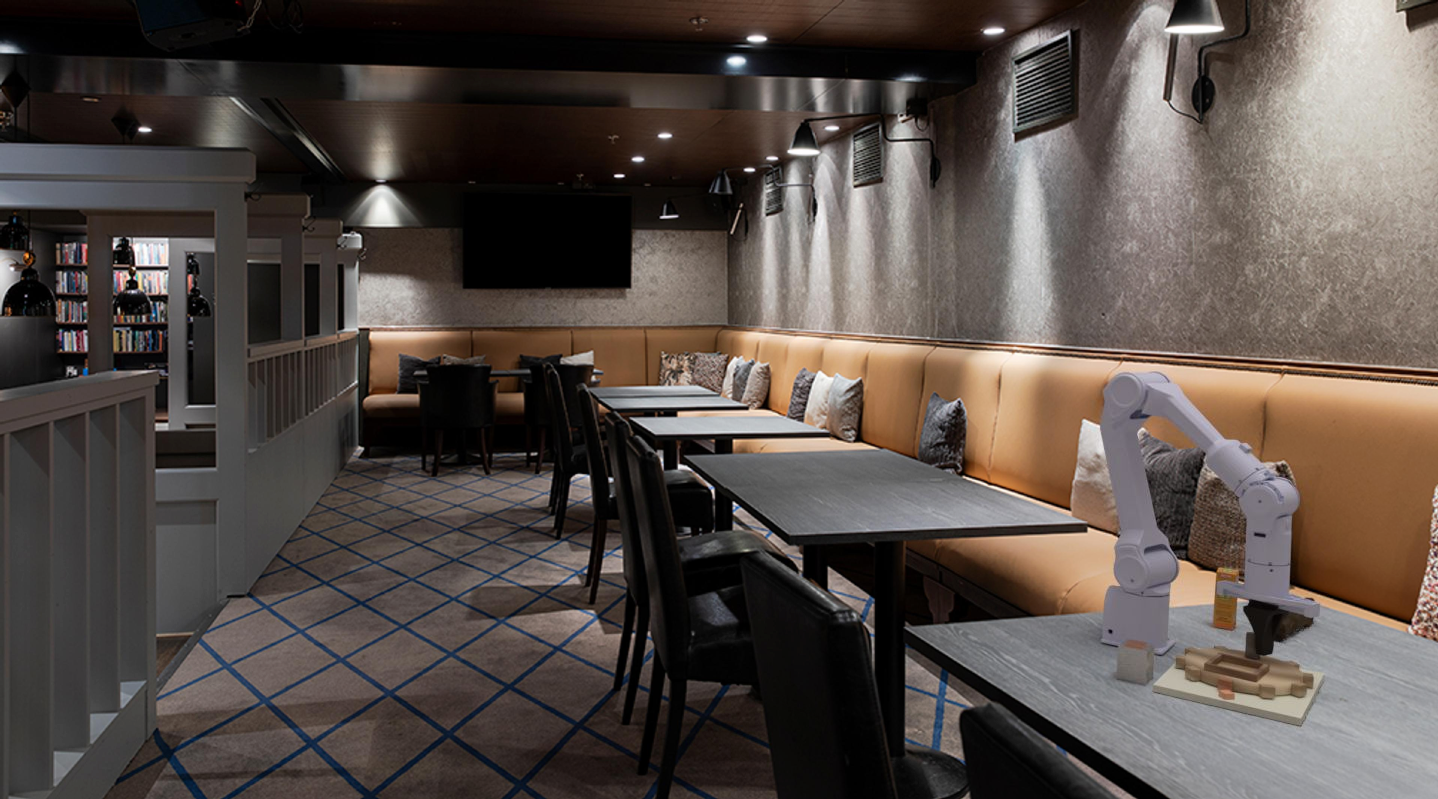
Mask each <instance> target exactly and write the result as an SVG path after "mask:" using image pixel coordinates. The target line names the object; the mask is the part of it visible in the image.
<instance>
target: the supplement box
mask: <svg viewBox="0 0 1438 799" xmlns="http://www.w3.org/2000/svg"><path fill="white" fill-rule="evenodd" d="M1239 577H1240V570H1239V569H1233V568H1226V567H1218V568H1217V570H1216V574H1215V586H1214V587H1215V588H1214V598H1213V599H1214V601H1213V602H1214V603H1213V614H1212V615H1213V616H1212V618H1213V619H1212V627H1213V628H1217V629H1223V630H1229V631H1233V630H1234V628H1235V627H1236V626H1237V611H1238V610H1237V608H1238V598H1236V597H1232V596H1228V595H1219V594H1217V582H1218V581H1225V580H1226V581H1231V582H1236V583H1239V581H1240V580H1239V579H1240V578H1239Z"/></svg>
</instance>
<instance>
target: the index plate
mask: <svg viewBox="0 0 1438 799" xmlns="http://www.w3.org/2000/svg"><path fill="white" fill-rule="evenodd" d="M1192 647H1193V648H1196V649H1202V648H1201V647H1200V648H1199V647H1197V646H1196V647H1194V646H1192ZM1182 655H1184V653H1183V654H1182ZM1299 670H1301V672H1302V673H1310V674H1313V676H1314V683H1313V688H1311V687H1307V695H1305V696H1302V697H1298V696H1295V695H1292V694H1287V695H1275V699H1274V698H1262V697H1261V696H1260V695H1259V694H1250V693H1244V692H1238V691H1232V692H1231V691H1229V690H1218V687H1217V686H1214V685H1211V684H1208V683H1205V682H1203V681H1201V680H1196V681H1192V680H1190V679H1188V678H1186V677H1185V669H1182V668H1176V661H1175V662H1174V664H1172V665H1171V666H1170V667H1169V668H1168V669H1167V670H1166V671H1165V672H1164V673H1163V674H1162V675H1161V676H1160V677H1159V678H1157V680H1156V681H1155V682H1154V683H1153V684H1152V693H1158V694H1161V695H1166V696H1170V697H1175V698H1177V699H1183V700H1186V701H1192V702H1194V703H1195V702H1196V703H1201V704H1204V705H1209V706H1213V707H1217V708H1221V709H1226V710H1231V711H1234V712H1238V713H1243V714H1247V715H1250V716H1251V715H1252V716H1256V717H1261V718H1265V719H1267V720H1268V719H1269V720H1273V721H1278V722H1281V723H1285V724H1286V723H1287V724H1291V725H1295V726H1299V727H1301V726H1302V725H1303V723H1304V721H1305V719H1306V717H1307V714H1308V713H1309V711H1310V708H1311V707H1312V705H1313V703H1314V701H1315V699H1316V698H1317V695H1318V693H1319V691H1320V689H1321V687H1322V685H1323V683H1324V681H1325V677H1326V676H1325V673H1324V672H1321V671H1320V672H1319V671H1315V670H1312V669H1311V670H1310V669H1304V668H1300V667H1299Z"/></svg>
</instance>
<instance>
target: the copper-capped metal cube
mask: <svg viewBox="0 0 1438 799" xmlns="http://www.w3.org/2000/svg"><path fill="white" fill-rule="evenodd" d="M1154 649H1155V645H1154V644H1149V643H1146V642H1141V641H1136V640H1131V639H1130V640H1129V639H1125V640H1124V641H1123V642H1122V643H1120V644H1119V645H1118V646H1117V657H1116V658H1117V659H1116V660H1117V662H1116V680H1119V681H1124V682H1129V683H1133V684H1138V685H1141V686H1147V685H1149V683H1150V682H1151V681H1152V680H1153V679H1154V667H1155V654H1154Z"/></svg>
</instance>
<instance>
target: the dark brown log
mask: <svg viewBox="0 0 1438 799" xmlns="http://www.w3.org/2000/svg"><path fill="white" fill-rule="evenodd" d="M1304 598H1305V599H1308V600H1311V601H1314V602H1316V601H1315V598H1313V597H1304ZM1314 619H1315V617H1313V618H1309V617H1305V616H1304V615H1303V614H1299V613H1295V612H1291V611H1289V614H1288V615H1287V616H1286V618H1285V619H1284V620H1283V622H1282V623H1281V625H1280V627H1279V628H1278V630H1277V632H1276V635H1275V637H1274V642H1278V643H1279V642H1282V641H1284V640H1285V639H1286V637H1287V636H1288V635H1289V634H1291V633H1293V632H1296V631H1298V630H1300V629H1301V628H1311V626H1312V625H1313V623H1314Z"/></svg>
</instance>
